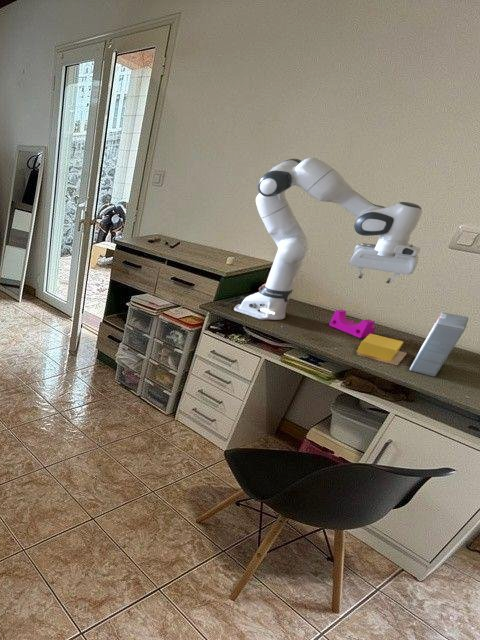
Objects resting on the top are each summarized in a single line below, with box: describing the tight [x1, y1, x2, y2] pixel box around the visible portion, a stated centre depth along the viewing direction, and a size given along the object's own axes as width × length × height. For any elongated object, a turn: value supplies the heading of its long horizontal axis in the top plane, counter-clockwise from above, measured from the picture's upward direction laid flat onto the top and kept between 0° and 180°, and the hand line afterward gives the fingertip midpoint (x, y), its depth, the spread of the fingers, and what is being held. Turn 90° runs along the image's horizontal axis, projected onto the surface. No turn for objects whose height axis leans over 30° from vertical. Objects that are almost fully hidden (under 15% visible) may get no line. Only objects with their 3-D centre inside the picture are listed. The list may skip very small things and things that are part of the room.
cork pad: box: [355, 350, 408, 367], centre depth 175 cm, size 13×16×1 cm
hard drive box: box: [409, 311, 469, 377], centre depth 160 cm, size 16×8×20 cm, turn 131°
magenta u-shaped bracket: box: [328, 309, 377, 339], centre depth 193 cm, size 15×6×8 cm, turn 12°
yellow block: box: [356, 333, 404, 361], centre depth 175 cm, size 5×12×11 cm
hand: (373, 280), depth 175 cm, fingers open, 8 cm apart
